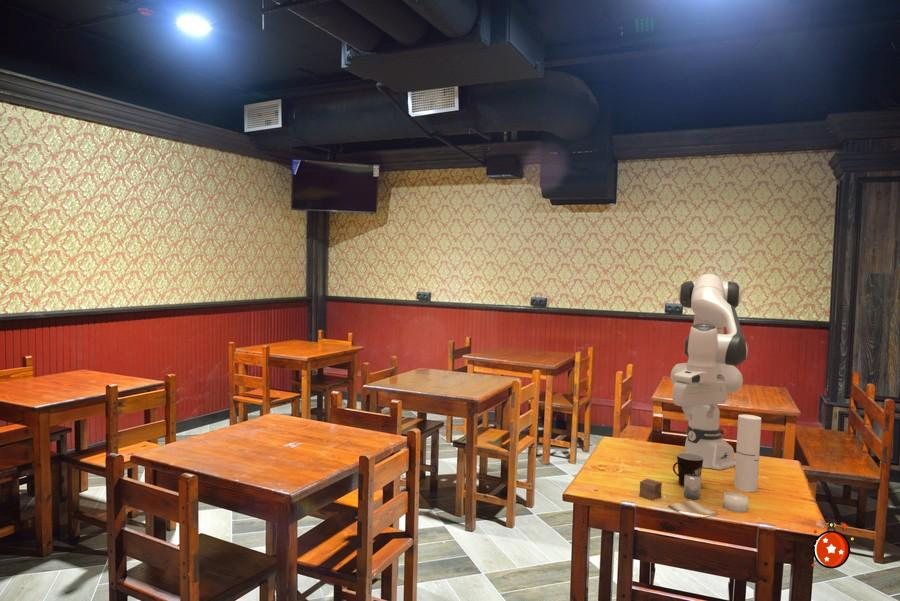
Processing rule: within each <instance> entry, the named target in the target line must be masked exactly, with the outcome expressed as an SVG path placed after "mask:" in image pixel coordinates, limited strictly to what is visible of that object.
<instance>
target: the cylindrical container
mask: <svg viewBox="0 0 900 601" xmlns="http://www.w3.org/2000/svg"><path fill="white" fill-rule="evenodd" d="M761 430H762V417H760V416H757V415H753V414H738V418H737V431H736V432H737V435H736V449H735V450H736V453H735V459H736V466H734V467H735V470H734V485H733V486H734V489H736V490H738V491H741V492H745V493H756V492H758V486H759V485H758V482H759V469H760V468H759V466H760V450H761V449H760V447H761V433H762V432H761Z"/></svg>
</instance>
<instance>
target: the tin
mask: <svg viewBox="0 0 900 601" xmlns="http://www.w3.org/2000/svg"><path fill="white" fill-rule="evenodd" d="M701 482H702V477H701V476H698V475H695V474H685V477H684V486H683V497H684V498H685V499H687V500H690V499H691V500H690V501H698V499H699V500H700V499H701Z"/></svg>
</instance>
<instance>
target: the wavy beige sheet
mask: <svg viewBox="0 0 900 601" xmlns="http://www.w3.org/2000/svg"><path fill="white" fill-rule="evenodd" d="M667 508H669V509H671V510H673V511H675V510H677V511H683V512H690V513H697V514H703V515H714V516H716V515H715V514H717V515H718V512H717V511H715V510H713V509H712V508H709V507H707V506H704V505H703V504H700V503H698V502H696V501H695V500H687V501H682V502H675V503H670V504H668V505H667ZM677 511H676V512H677Z"/></svg>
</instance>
